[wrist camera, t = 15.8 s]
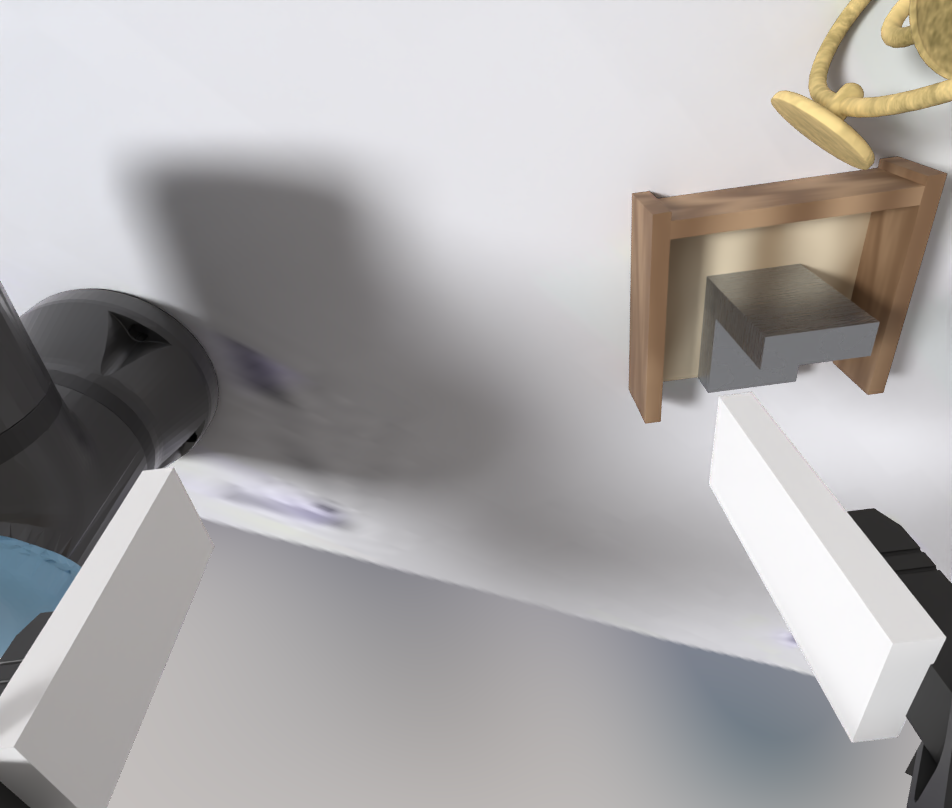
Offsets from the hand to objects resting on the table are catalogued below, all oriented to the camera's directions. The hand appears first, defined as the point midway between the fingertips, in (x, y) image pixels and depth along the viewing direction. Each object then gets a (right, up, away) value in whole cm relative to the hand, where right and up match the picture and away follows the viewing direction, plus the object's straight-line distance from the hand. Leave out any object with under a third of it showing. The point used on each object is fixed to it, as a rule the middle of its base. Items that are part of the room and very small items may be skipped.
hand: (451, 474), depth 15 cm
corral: (+22, +10, +32) cm, 40 cm away
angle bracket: (+22, +8, +33) cm, 41 cm away
